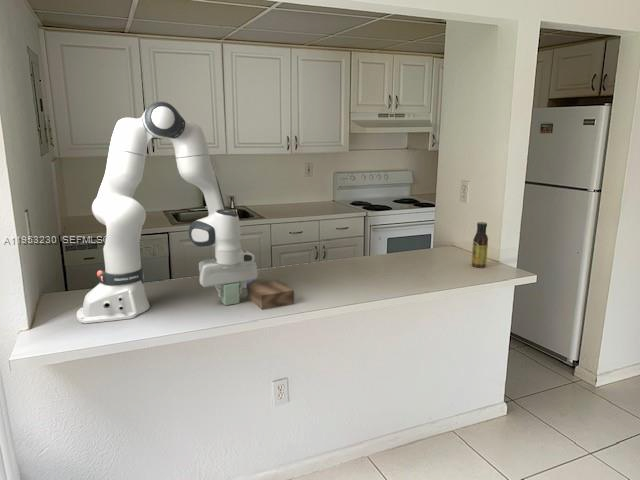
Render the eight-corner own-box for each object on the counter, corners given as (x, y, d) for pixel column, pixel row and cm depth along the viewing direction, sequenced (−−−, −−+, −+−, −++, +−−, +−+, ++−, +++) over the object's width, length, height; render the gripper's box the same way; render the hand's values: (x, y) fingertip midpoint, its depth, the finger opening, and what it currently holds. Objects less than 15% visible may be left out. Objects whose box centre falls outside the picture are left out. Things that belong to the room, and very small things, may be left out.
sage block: (225, 305, 164) (224, 285, 163) (221, 300, 169) (220, 282, 167) (239, 302, 167) (238, 283, 165) (234, 298, 171) (234, 280, 169)
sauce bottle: (471, 263, 216) (474, 220, 212) (485, 264, 215) (489, 221, 210) (471, 267, 210) (474, 223, 206) (486, 268, 209) (489, 224, 204)
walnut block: (261, 309, 161) (261, 295, 160) (247, 297, 173) (247, 284, 172) (293, 303, 167) (293, 290, 165) (277, 292, 178) (277, 279, 177)
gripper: (200, 262, 156) (202, 302, 159) (259, 255, 166) (260, 293, 169) (195, 258, 162) (198, 296, 165) (252, 251, 171) (253, 288, 174)
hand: (229, 294), depth 167 cm, fingers closed on sage block, 5 cm apart
